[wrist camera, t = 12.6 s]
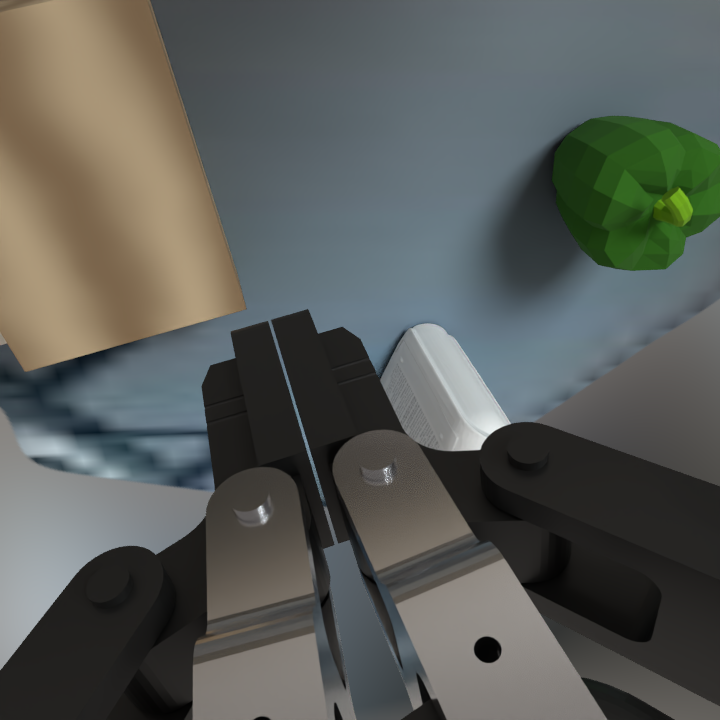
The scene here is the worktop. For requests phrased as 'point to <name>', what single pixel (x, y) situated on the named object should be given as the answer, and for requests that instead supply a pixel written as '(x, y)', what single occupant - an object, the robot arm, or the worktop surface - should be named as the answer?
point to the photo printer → (439, 392)
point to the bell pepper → (636, 189)
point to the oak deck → (100, 186)
